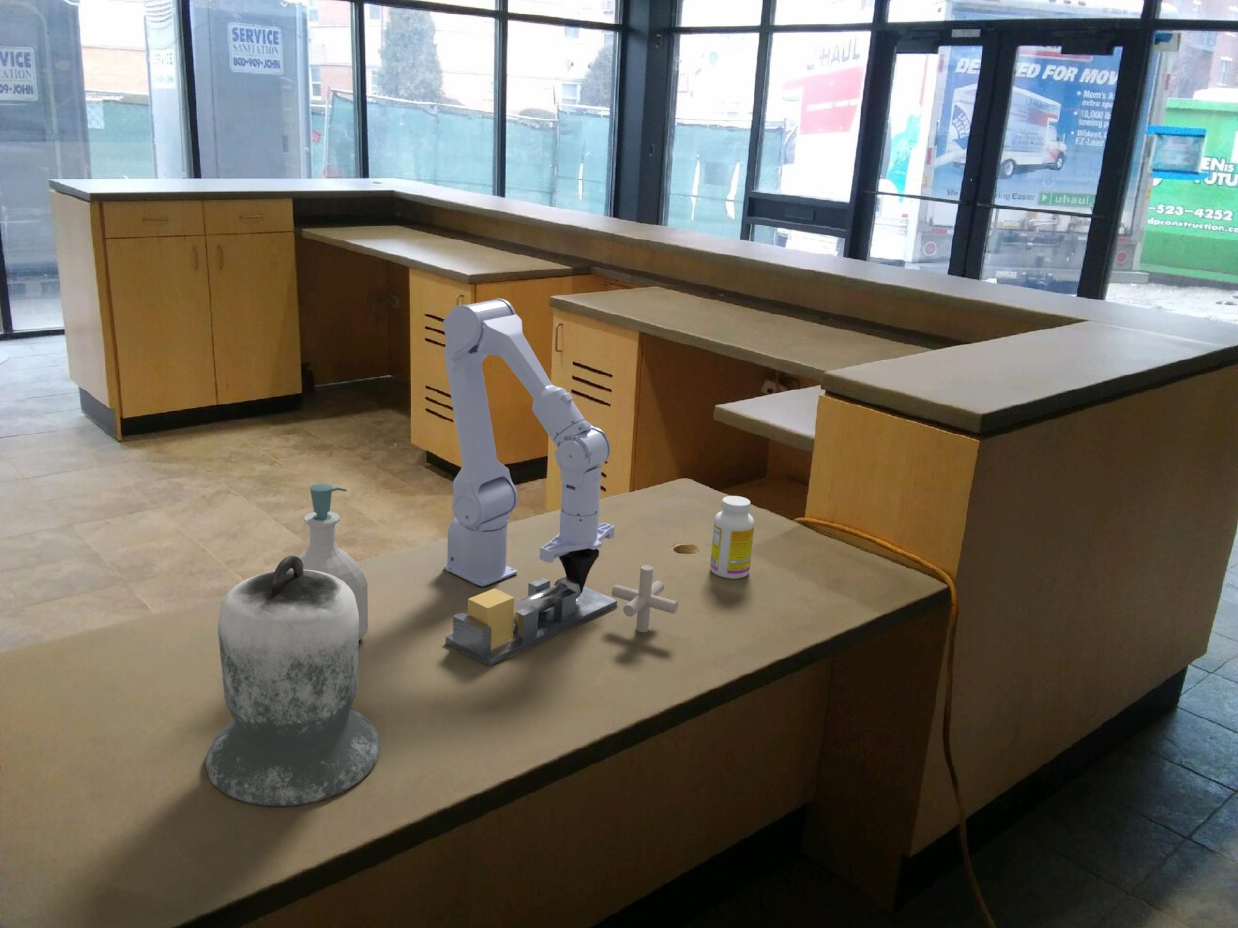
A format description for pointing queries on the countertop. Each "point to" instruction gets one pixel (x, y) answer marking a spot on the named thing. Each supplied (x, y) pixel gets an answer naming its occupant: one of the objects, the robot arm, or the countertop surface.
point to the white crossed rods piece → (644, 598)
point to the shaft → (548, 595)
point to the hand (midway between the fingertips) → (575, 591)
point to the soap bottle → (333, 551)
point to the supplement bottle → (732, 539)
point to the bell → (290, 690)
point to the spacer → (494, 613)
